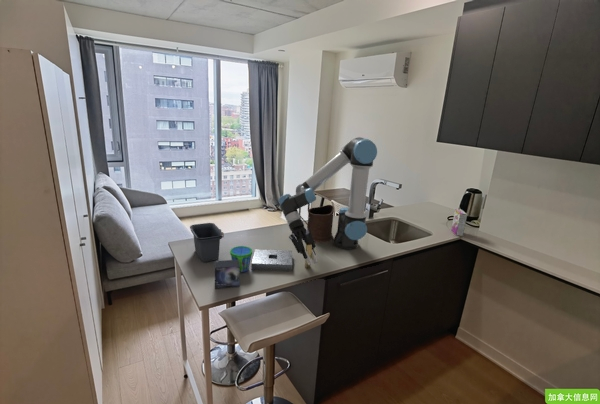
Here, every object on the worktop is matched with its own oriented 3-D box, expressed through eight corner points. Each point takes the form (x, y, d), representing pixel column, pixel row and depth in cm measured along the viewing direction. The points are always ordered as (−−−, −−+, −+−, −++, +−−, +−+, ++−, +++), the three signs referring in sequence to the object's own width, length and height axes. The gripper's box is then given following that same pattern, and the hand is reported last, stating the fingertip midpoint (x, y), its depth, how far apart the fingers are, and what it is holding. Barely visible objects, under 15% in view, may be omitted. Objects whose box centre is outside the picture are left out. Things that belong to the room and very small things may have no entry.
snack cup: (249, 278, 142) (249, 258, 139) (226, 276, 142) (226, 257, 139) (254, 262, 157) (254, 244, 154) (233, 261, 157) (233, 243, 154)
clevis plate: (291, 256, 166) (292, 250, 165) (291, 271, 150) (292, 264, 149) (255, 255, 165) (255, 249, 164) (251, 269, 149) (251, 263, 148)
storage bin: (189, 249, 167) (188, 224, 163) (217, 244, 175) (216, 221, 171) (198, 266, 150) (197, 239, 146) (228, 260, 158) (228, 234, 154)
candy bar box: (450, 230, 222) (455, 208, 218) (457, 231, 222) (462, 209, 217) (455, 235, 212) (460, 213, 207) (463, 236, 211) (468, 214, 207)
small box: (214, 289, 131) (214, 267, 128) (214, 281, 137) (214, 260, 134) (239, 287, 134) (239, 265, 131) (238, 279, 140) (238, 259, 137)
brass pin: (310, 265, 157) (311, 243, 153) (310, 268, 154) (312, 246, 151) (304, 265, 157) (306, 243, 153) (304, 267, 154) (306, 246, 150)
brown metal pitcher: (338, 240, 191) (342, 202, 184) (303, 244, 182) (305, 204, 175) (325, 230, 208) (328, 194, 201) (292, 233, 199) (294, 196, 192)
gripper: (303, 222, 167) (321, 261, 159) (279, 227, 157) (296, 269, 149) (310, 216, 161) (328, 256, 153) (285, 221, 152) (304, 264, 144)
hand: (313, 263), depth 151 cm, fingers closed on brass pin, 3 cm apart
